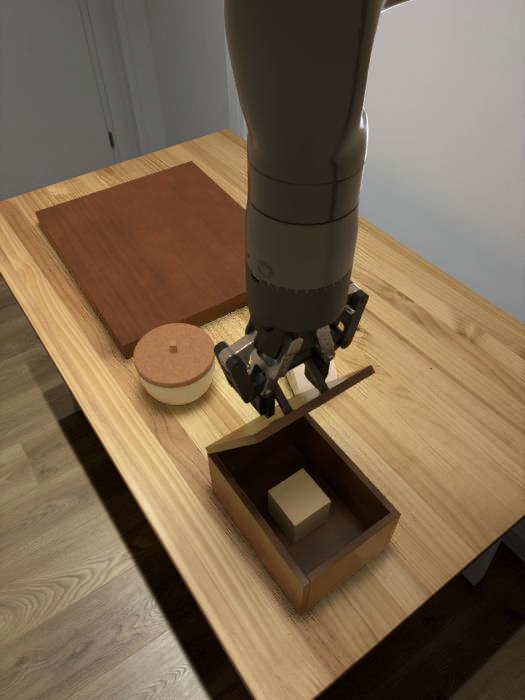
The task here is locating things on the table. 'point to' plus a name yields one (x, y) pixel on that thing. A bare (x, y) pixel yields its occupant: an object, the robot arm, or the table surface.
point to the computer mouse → (301, 382)
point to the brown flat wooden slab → (153, 251)
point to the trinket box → (175, 362)
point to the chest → (326, 540)
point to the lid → (291, 405)
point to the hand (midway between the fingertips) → (289, 395)
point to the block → (298, 505)
